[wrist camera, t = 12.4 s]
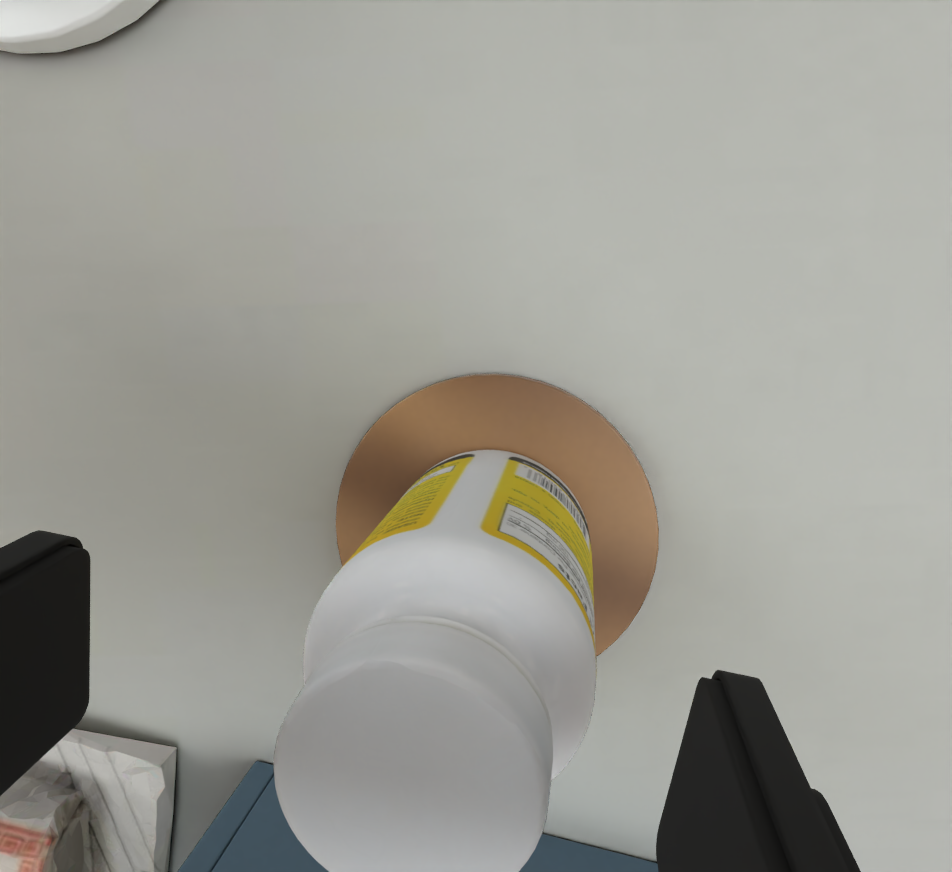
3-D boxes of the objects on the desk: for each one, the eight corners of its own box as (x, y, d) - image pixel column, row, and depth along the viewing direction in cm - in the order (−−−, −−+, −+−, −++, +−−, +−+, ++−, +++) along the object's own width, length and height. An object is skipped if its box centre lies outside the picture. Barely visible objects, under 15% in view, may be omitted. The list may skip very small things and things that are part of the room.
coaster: (359, 346, 19) (354, 348, 19) (690, 405, 18) (693, 408, 18) (324, 640, 21) (319, 647, 21) (620, 709, 20) (621, 717, 20)
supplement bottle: (393, 617, 20) (219, 909, 11) (404, 435, 19) (220, 578, 9) (581, 645, 19) (576, 986, 10) (604, 458, 18) (625, 638, 9)
